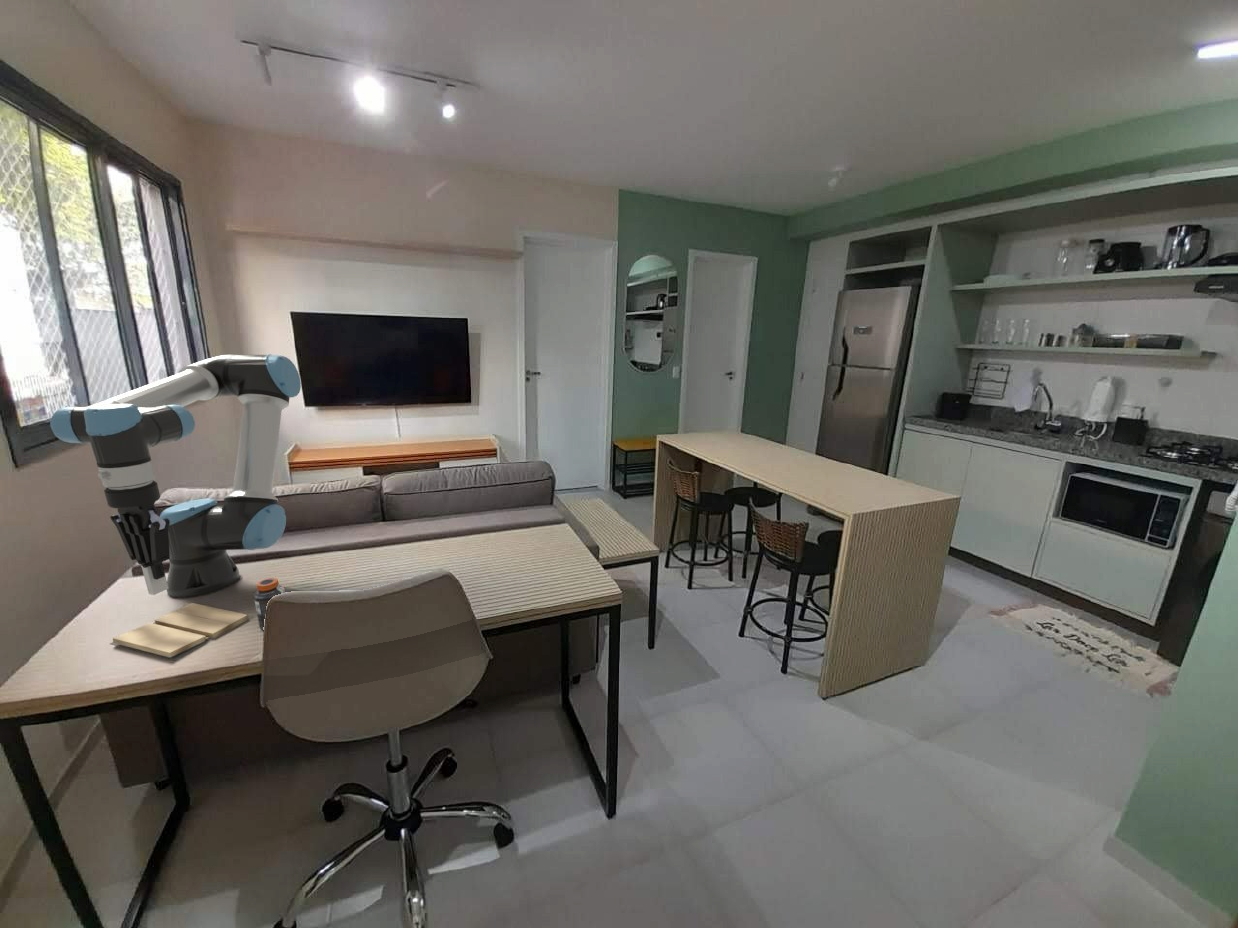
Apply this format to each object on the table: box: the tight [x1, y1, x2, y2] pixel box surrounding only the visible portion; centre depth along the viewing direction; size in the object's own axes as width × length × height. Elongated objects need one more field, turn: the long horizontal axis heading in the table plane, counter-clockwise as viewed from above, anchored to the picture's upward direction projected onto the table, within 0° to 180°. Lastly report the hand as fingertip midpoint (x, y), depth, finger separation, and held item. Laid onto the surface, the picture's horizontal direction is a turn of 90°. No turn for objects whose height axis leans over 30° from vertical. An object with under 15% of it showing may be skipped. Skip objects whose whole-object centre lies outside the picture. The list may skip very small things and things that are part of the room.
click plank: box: [112, 622, 209, 658], centre depth 108 cm, size 8×17×1 cm, turn 74°
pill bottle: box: [253, 577, 286, 631], centre depth 114 cm, size 6×6×11 cm
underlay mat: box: [109, 615, 254, 661], centre depth 113 cm, size 17×20×1 cm
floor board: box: [154, 602, 249, 639], centre depth 115 cm, size 8×18×1 cm, turn 74°
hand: (158, 591), depth 102 cm, fingers closed
